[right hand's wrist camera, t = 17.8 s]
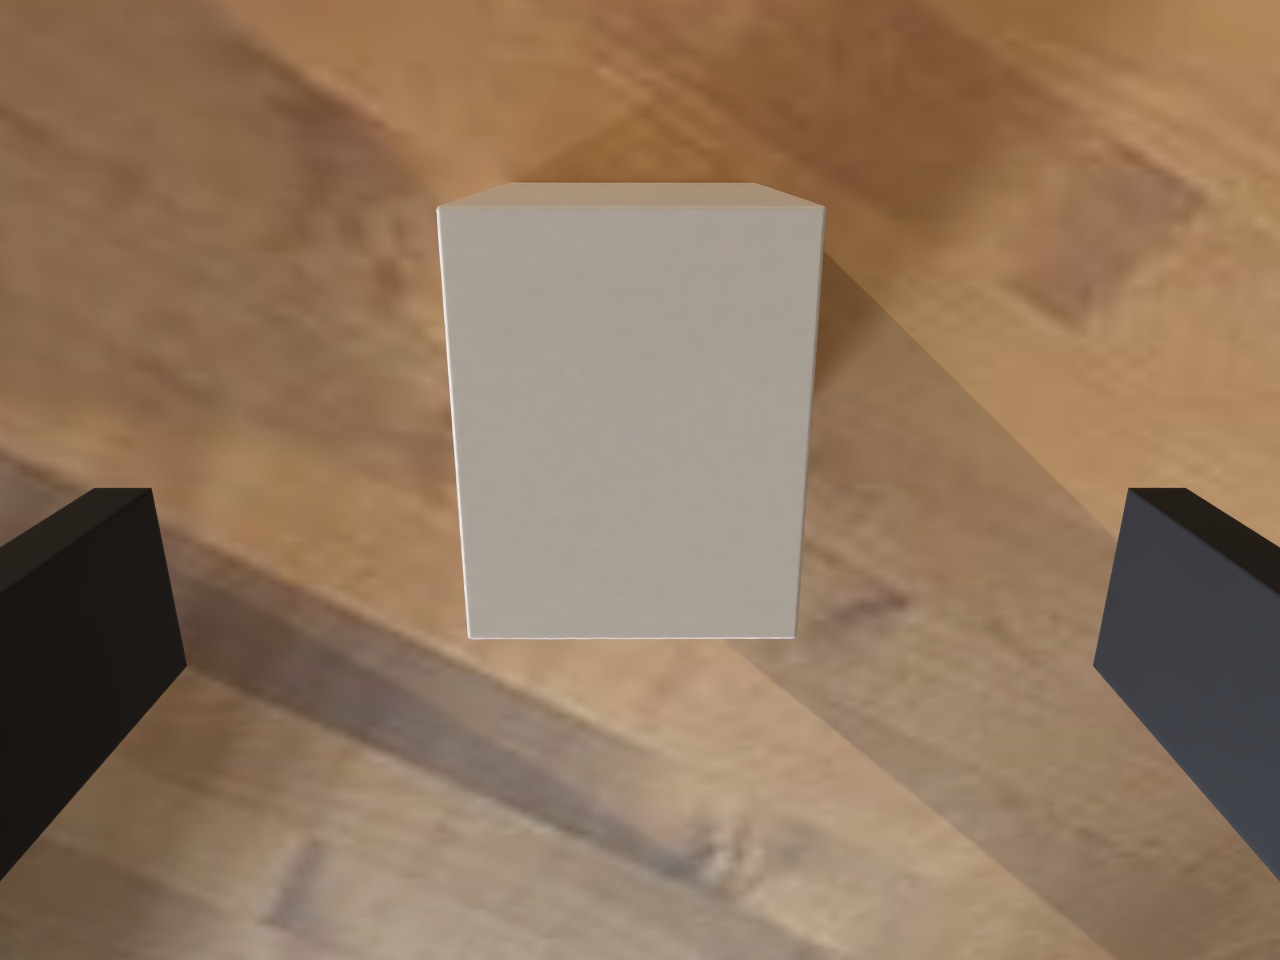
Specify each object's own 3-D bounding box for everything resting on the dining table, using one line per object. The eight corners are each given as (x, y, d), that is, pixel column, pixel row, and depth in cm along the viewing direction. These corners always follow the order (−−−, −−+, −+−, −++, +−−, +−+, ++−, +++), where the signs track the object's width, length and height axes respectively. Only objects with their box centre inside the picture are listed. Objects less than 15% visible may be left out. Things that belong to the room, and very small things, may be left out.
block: (757, 182, 26) (827, 205, 17) (744, 478, 29) (797, 640, 20) (507, 182, 26) (435, 205, 17) (521, 479, 29) (467, 640, 20)
